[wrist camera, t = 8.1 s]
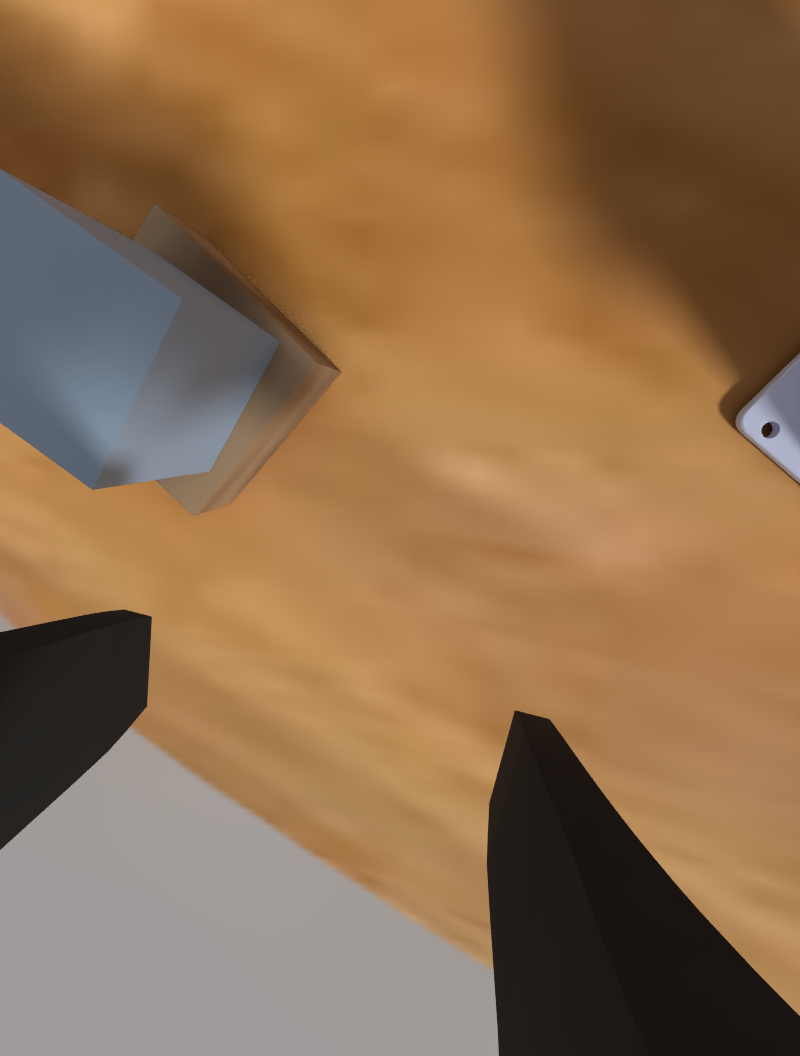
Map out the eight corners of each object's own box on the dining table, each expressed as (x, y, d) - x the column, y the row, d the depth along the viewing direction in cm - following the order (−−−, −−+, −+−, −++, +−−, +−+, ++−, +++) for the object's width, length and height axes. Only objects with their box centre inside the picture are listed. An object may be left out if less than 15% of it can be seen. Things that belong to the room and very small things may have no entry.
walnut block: (344, 373, 18) (317, 363, 15) (235, 502, 19) (192, 515, 17) (209, 239, 17) (155, 203, 14) (112, 383, 19) (48, 376, 16)
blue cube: (280, 341, 15) (182, 299, 10) (209, 471, 16) (92, 489, 11) (154, 251, 15) (-5, 166, 10) (93, 387, 16) (-72, 370, 11)
